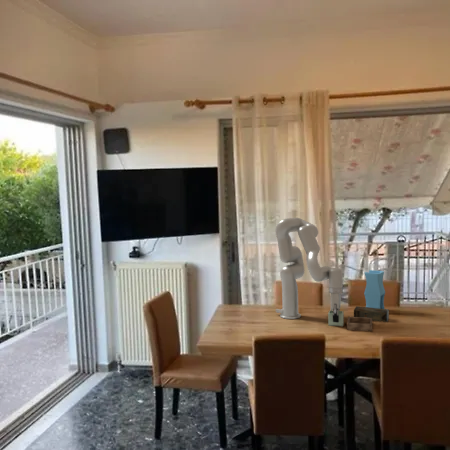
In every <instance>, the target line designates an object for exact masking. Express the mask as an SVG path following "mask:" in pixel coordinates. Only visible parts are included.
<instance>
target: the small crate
mask: <svg viewBox="0 0 450 450" xmlns="http://www.w3.org/2000/svg"><path fill="white" fill-rule="evenodd" d="M338 315H339V322H333V310H332V311H331V309H330V310H329V311H328V314H327V316H328V317H327V319H328V320H327V321H328V326H332V327H344V324H345V322H344V321H345V320H344V318H345V317H344V316H345V314H344V310H340V311H338Z"/></svg>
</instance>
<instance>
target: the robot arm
mask: <svg viewBox="0 0 450 450" xmlns="http://www.w3.org/2000/svg"><path fill="white" fill-rule="evenodd" d="M294 232H296V233H297V234H298V235H297V236H298V237H299V240H300V243H301V244H302V247H303V248H304V250H305V253H306V255H305V256H306V259H305V261H306V266H307V270H308V273H309V275H310V276H311V278H312V279H313V281H315V282H319V283H321V282H323V281H326V280H328V293H329V294H330V311H333V322H339V315H338V311H341V304H342V302H341V301H342V299H341V298H342V297H341V296H342V295H341V294H343V293H344V292H343V291H344V290H343V270H342V269H341V268H339V267H330V266H320V264H319V262H318V256H319V253H320V251H321V247H320V245H319V242H318V240H317V237H318V235H319V229H318V228H317V226H316V225H314V224H312V223H311V222H308V221H306V220H304V219H302V218H299V217H289V218H283V219H282V220H280V221H279V222H278V223H277V224H276V226H275V236H276V239H277V240H276V241H277V247H278V254H279V259H280V261H281V262H282V263H284V264H287V265H284V266H282V268H281V270H280V273H279V275H280V281H281V295H282V296H281V297H282V299H281V302H282V305H281V306H282V308H281V309H279V308H275V313H277V314H279V313H280V314H279V316H280V318H282V319H287V320H295V319H299V318H301V316H302V314H301V313H299V288H298V287H299V286H298V282H297V280H298V279H301V278H302V277H304V275H305V264H304V258H303V257H304V256H303V252H302V250H301V249H300V248H299V247H298V246H296V245H293V243H292V241H293V240H292V238H291V236H290V233H294Z"/></svg>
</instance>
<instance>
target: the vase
mask: <svg viewBox="0 0 450 450" xmlns="http://www.w3.org/2000/svg"><path fill="white" fill-rule="evenodd" d="M384 275H385V271H384V270H375V269H374V270H373V269H369V270H368V271H364V277H365V280H366V281H365V282H366V285H365V289H364V292H363V293H364V298H365V304H366V305H365V307H369V308H379V309H386V308H385V295H386V290H385V286H384V283H383V282H384V281H383V280H384Z"/></svg>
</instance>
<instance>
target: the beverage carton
mask: <svg viewBox="0 0 450 450" xmlns="http://www.w3.org/2000/svg"><path fill="white" fill-rule="evenodd" d="M389 313H390V309H388V308H385V309H379V308H369V307H366V306H355V307H354V309H353V317H363V318H372V322H381V321H383V323H388V321H389V319H390V317H389V316H390V315H389Z"/></svg>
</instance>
